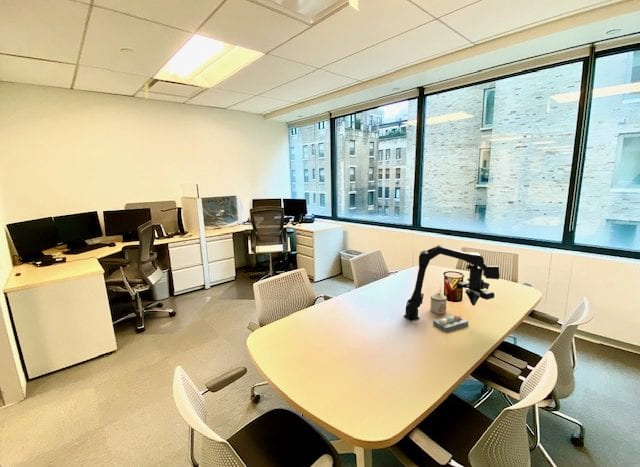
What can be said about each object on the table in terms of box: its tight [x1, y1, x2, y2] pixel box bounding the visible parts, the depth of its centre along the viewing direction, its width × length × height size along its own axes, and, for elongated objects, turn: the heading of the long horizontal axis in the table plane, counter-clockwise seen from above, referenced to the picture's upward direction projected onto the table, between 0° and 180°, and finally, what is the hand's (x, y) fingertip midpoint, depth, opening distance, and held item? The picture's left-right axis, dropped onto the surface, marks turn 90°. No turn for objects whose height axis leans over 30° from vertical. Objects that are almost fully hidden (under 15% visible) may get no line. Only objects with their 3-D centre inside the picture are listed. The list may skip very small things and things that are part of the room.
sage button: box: [447, 317, 454, 323], centre depth 160 cm, size 3×3×4 cm
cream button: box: [440, 319, 447, 325], centre depth 158 cm, size 3×3×4 cm
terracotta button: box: [454, 314, 462, 321], centre depth 162 cm, size 3×3×4 cm
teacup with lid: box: [430, 291, 448, 315], centre depth 177 cm, size 12×9×12 cm
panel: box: [432, 314, 469, 333], centre depth 160 cm, size 16×9×2 cm, turn 113°
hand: (473, 305), depth 156 cm, fingers closed
